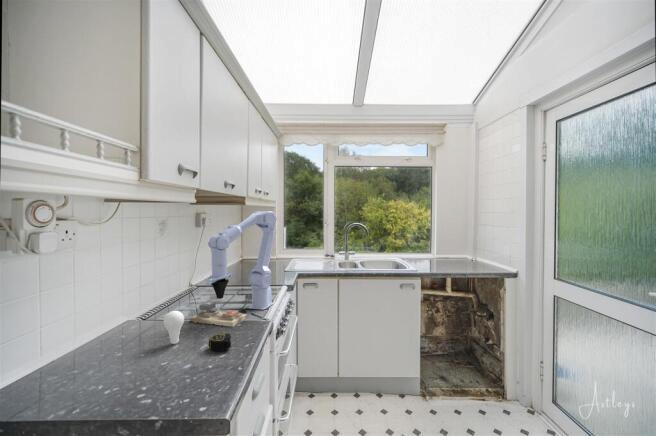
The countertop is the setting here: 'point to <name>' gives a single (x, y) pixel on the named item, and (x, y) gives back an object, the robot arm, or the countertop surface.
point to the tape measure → (220, 342)
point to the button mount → (217, 318)
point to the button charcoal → (207, 306)
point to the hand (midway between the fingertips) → (220, 298)
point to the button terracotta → (230, 313)
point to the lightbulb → (174, 325)
